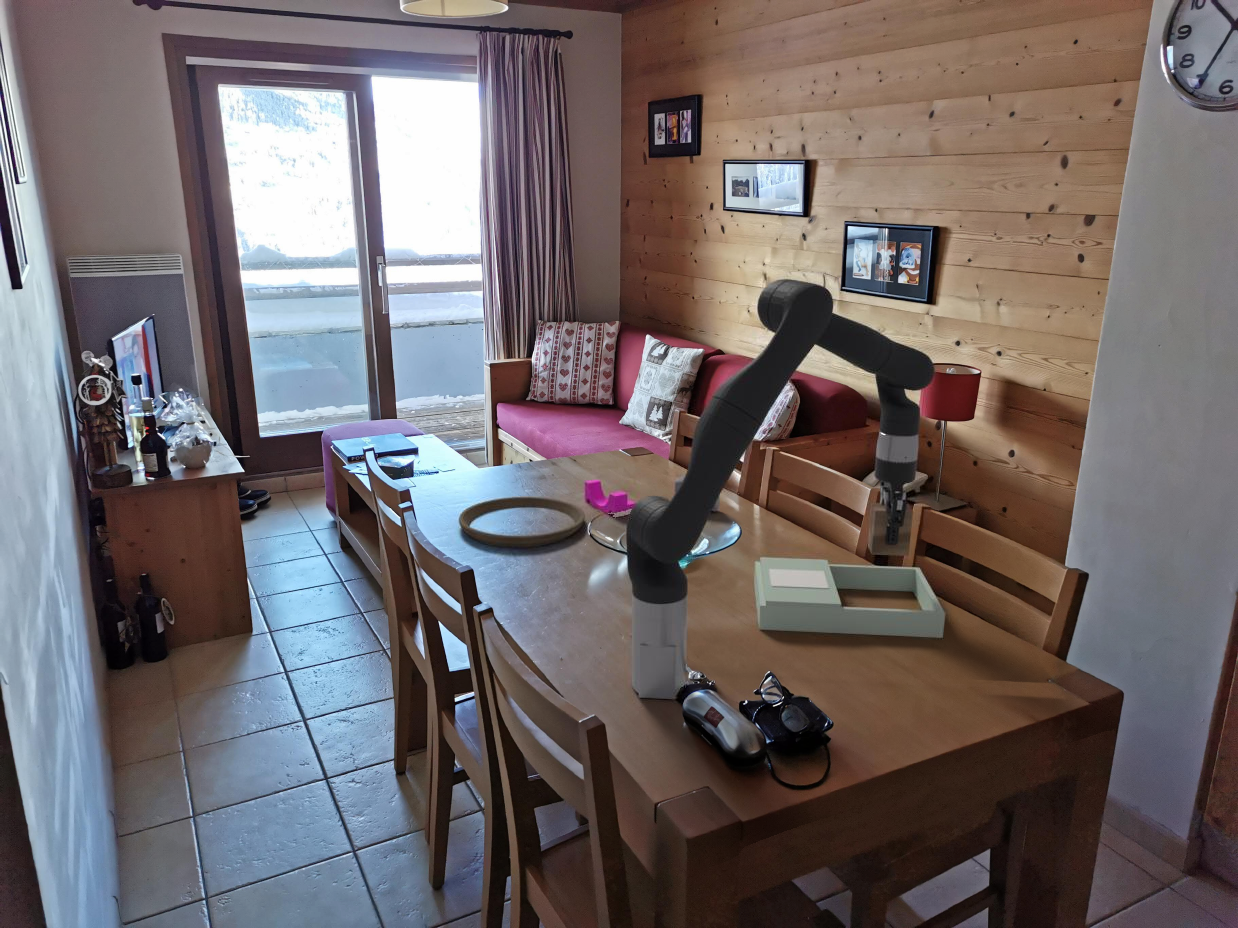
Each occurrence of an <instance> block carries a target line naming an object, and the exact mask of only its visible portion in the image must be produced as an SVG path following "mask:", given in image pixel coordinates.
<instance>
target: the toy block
mask: <svg viewBox="0 0 1238 928" xmlns="http://www.w3.org/2000/svg"><path fill="white" fill-rule="evenodd" d="M608 495H609V496H608V497H606V495H605V494H604V491H603V488H602V482H601V480H599V479H591V480H586V481H584V502H586V503H588V502H589V505H590V506H592V507H595V508H596V509H598V510H599V511H601V512H603V513H605V514H606V513H611V512H612V513H617V512H621V511H626V510H628V509H632V508H633V507H634V505H635V504H636V503H637V502H634V501H632V500H631V499H630V500H629V499H628V493H626V492H625V491H623V490H620V491H615V492H611V493H609V494H608Z"/></svg>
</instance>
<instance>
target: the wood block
mask: <svg viewBox="0 0 1238 928" xmlns="http://www.w3.org/2000/svg"><path fill="white" fill-rule="evenodd" d="M884 506H885V504H881V503H880V502H871V503H870V513H869V514H870V515H869V529H868V537H867V539H868V540H867V548H868V550H869V552H870V554H871V555H877V556H879V555H880V556H900V557H901V556H902V557H904V556H905V557H909V555H910V554H909V553H910V545H911V544H910V543H911V536H912V535H911V533H912V526H913V517H914V516H913V515H914V511H913V510H912V508H911V506H910V505H909V504H908V503H907V506H906V512H905V517H904V525H903V527H899V535H898V544H897V545H887V544H886V542H885V540H886V530H887V525H886V522H887V514H886V513H885V510H884ZM889 510H891V508H889ZM897 518H898V517H894V519H893V520H897Z"/></svg>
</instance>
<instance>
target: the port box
mask: <svg viewBox="0 0 1238 928" xmlns="http://www.w3.org/2000/svg"><path fill="white" fill-rule="evenodd" d="M754 561H755V560H754ZM753 582H754V583H753V584H754V592H755V603H756V604H755V605H756V611H757V613H756V614H757V621H758V623H757V624H758V630H765V631H784V632H786V631H787V632H804V633H805V632H806V633H829V634H830V633H831V634H851V635H853V634H854V635H869V636H870V635H872V636H873V635H874V636H891V637H892V636H896V637H897V636H898V637H915V638H917V637H918V638H939V639H941V638H943V636H944V629H945V621H946V620H945V618H946V612H945V610H944V609H943V607H942V605H941V603H940V602H939V600H938V598H937V596H936V594H935V593H934V591H933V588H932V587H931V585H930V584H929V583H928V580H927V579H926V577H925V575H924V573H923V572H922V570H921V568H920V567H915V566H914V567H911V566H910V567H909V566H888V565H886V566H883V565H881V566H880V565H858V564H857V565H855V564H830V563H829V562H828V559H817V558H816V559H815V558H814V559H811V558H791V557H790V558H789V557H768V556H767V557H764V556H760V558H759V561H758V560H757V561H755V562H754V578H753ZM838 589H839V590H841V589H842V590H843V589H844V590H869V591H871V590H872V591H894V592H912V593H914V596H915V598H916V600H917V601H918V603H919V605H920V607H921V609H905V608H902V609H901V608H882V607H881V608H878V607H856V606H851V607H850V606H842V602H841V601H842V600H841V598H840V595H839V592H838Z"/></svg>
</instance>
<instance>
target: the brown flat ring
mask: <svg viewBox="0 0 1238 928" xmlns="http://www.w3.org/2000/svg"><path fill="white" fill-rule="evenodd" d="M512 508H542V509H547V510H548V509H549V510H553V511H557V512H560V513H562V514H565V515H567V516H569V517H570V518H571V519H572V520H573V524H572V525H570V526H567V527H566V528H562V529H559V530H555V531H552V532H546V533H540V534H531V535H506V534H505V535H504V534H496V533H490V532H486V531H481V530H478V529H475V528H473V527H470V526H471V524H472V523H473V522H474V521H475V520H476V519H479V517H481V516H483V515H486V514H488V513H492V512H495V511H499V510H504V509H512ZM585 518H586V515H585V512H584V510H582V508H580V507H579V506H578V505H576V504H573V503H571V502H568V501H564V500H560V499H556V498H555V499H554V498H548V497H540V496H539V497H538V496H513V497H503V498H502V497H501V498H494V499H490V500H485V501H483V502H478V503H476V504H473V505H471V506H469V507H467V508H466V509H464V510H463V511H462V512H461V513H460V515H459V517H458V522H459V526H460V527H461V529H462V530H463V531H464V532H465V533H466V534H467V535H469V536H470V537H471V539H474V540H476V541H478V542H479V543H482V544H485V545H490V546H495V547H501V548H502V547H503V548H517V549H518V548H519V549H521V548H532V547H539V546H545V545H550V544H554V543H557V542H559V541H562V540H565V539H568V538H569V537H570V536H571V535H573V534H574V533H576V532H577V531H578V530H579V529H580V528H581V526H583V525H582V524H583V523H584V522H585Z"/></svg>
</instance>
